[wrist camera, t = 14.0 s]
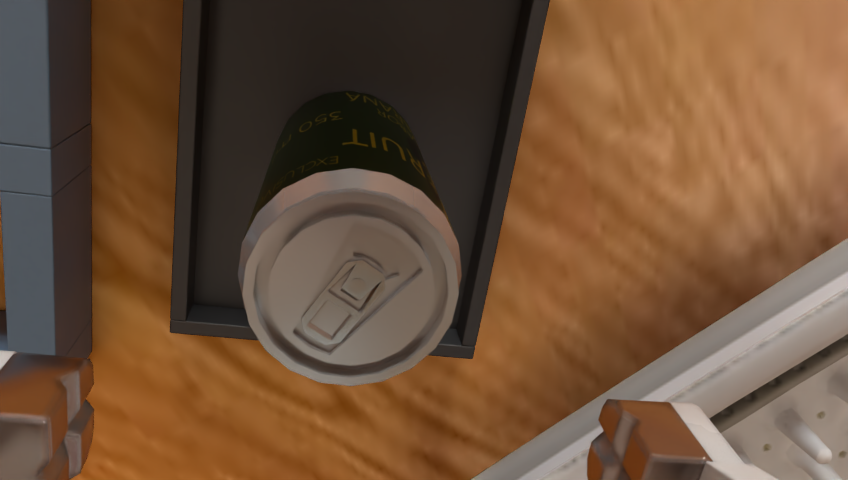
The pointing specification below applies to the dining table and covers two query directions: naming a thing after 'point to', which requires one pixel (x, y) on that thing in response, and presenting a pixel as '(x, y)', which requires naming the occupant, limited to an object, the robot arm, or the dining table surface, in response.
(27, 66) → the frame
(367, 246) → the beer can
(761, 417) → the dish rack
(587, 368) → the dining table surface
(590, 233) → the dining table surface
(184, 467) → the dining table surface
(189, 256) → the tray
